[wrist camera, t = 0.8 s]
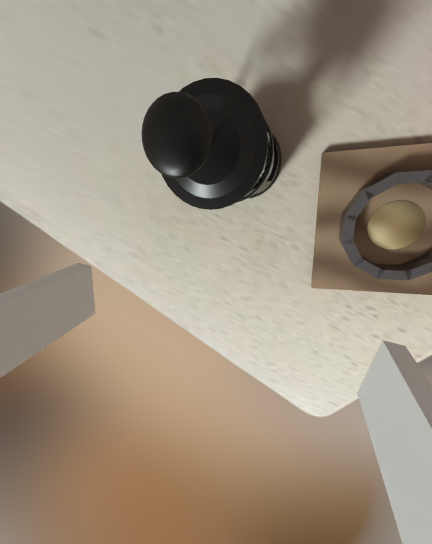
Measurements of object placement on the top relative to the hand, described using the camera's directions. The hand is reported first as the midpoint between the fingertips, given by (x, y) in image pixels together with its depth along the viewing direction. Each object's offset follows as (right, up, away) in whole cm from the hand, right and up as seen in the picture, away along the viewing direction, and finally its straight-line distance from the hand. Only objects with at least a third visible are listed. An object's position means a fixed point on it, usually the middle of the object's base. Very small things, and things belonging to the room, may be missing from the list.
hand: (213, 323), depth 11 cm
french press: (+4, +18, +23) cm, 29 cm away
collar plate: (+23, +8, +20) cm, 31 cm away
